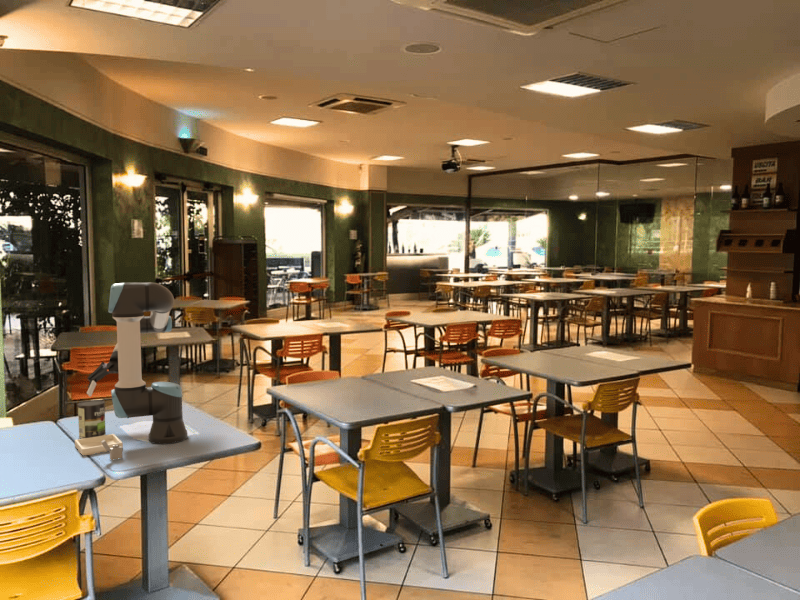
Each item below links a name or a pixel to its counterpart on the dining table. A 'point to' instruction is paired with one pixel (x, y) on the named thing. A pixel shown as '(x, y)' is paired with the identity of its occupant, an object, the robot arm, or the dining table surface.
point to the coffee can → (91, 418)
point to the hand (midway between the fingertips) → (103, 395)
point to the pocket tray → (96, 444)
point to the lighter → (113, 450)
